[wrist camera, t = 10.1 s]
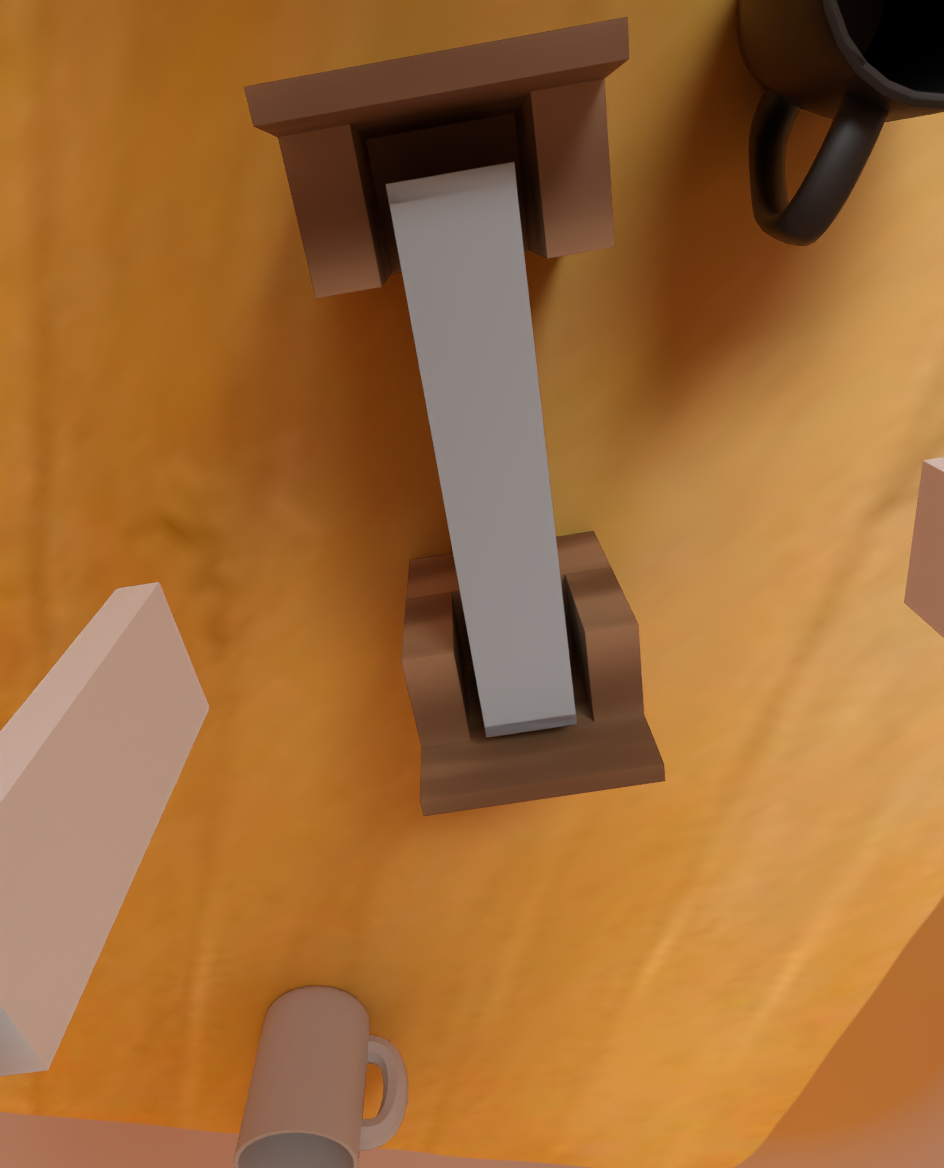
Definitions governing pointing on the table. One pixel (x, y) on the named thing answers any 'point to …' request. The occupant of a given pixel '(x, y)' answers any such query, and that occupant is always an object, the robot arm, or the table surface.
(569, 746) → the post foot
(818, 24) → the mug
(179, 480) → the table surface
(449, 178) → the rail
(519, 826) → the table surface
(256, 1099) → the cup
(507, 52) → the post head
